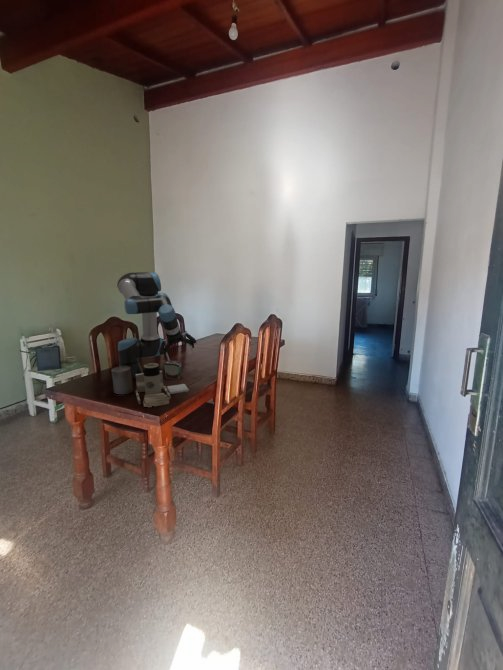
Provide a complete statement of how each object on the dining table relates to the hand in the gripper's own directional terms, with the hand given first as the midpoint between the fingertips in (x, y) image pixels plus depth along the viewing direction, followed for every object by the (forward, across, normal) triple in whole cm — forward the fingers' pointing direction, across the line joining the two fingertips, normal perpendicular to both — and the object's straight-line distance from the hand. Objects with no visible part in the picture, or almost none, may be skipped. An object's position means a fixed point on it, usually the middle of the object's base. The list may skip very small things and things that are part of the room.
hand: (180, 355), depth 189 cm
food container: (+25, -7, +5) cm, 27 cm away
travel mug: (+4, -20, -18) cm, 27 cm away
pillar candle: (+10, -36, -4) cm, 37 cm away
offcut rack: (+5, -21, -17) cm, 27 cm away
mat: (+12, -8, -13) cm, 19 cm away
